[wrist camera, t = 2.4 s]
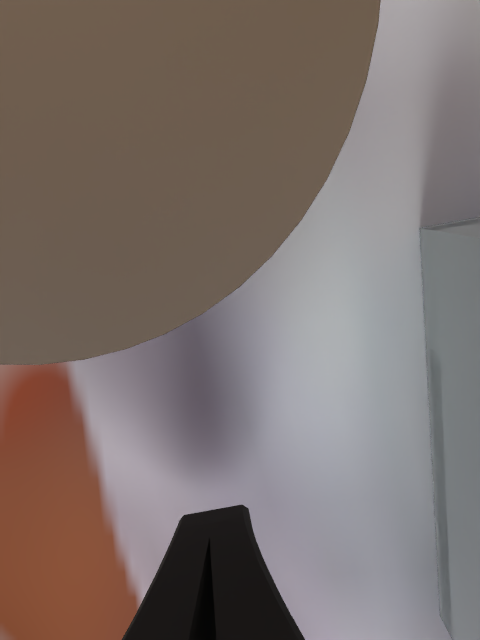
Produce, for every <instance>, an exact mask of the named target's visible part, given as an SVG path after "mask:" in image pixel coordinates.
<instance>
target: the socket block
mask: <svg viewBox="0 0 480 640" xmlns="http://www.w3.org/2000/svg"><path fill="white" fill-rule="evenodd" d="M419 229H420V248H421V266H422V285H423V304H424V323H425V342H426V361H427V380H428V399H429V418H430V437H431V456H432V475H433V494H434V513H435V531H436V550H437V569H438V588H439V607H440V617H441V619H442V621H443V622H444V624H445V626H446V628H447V630H448V632H449V634H450V636H451V638H452V640H480V217H478V218H473V219H467V220H461V221H456V222H450V223H445V224H439V225H434V226H428V227H422V228H419Z"/></svg>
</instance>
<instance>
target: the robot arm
mask: <svg viewBox="0 0 480 640" xmlns="http://www.w3.org/2000/svg"><path fill="white" fill-rule="evenodd" d="M122 640H305V639H304V637H303V635H302V633H301V632H300V630H299V628H298V626H297V625H296V623H295V621H294V619H293V618H292V616H291V614H290V612H289V610H288V608H287V607H286V605H285V603H284V601H283V599H282V597H281V595H280V593H279V591H278V589H277V587H276V585H275V583H274V581H273V579H272V577H271V575H270V572H269V570H268V568H267V566H266V564H265V562H264V559H263V557H262V555H261V552H260V549H259V547H258V544H257V542H256V539H255V536H254V533H253V529H252V524H251V519H250V514H249V509H248V508H247V507H245V506H244V505H237V506H232V507H226V508H221V509H215V510H210V511H204V512H199V513H193V514H188V515H184V516H183V517H182V518H181V520H180V521H179V523H178V526H177V528H176V531H175V533H174V536H173V538H172V540H171V543H170V545H169V547H168V549H167V552H166V554H165V556H164V558H163V560H162V563H161V565H160V567H159V569H158V571H157V573H156V575H155V577H154V579H153V581H152V583H151V585H150V587H149V589H148V591H147V593H146V595H145V597H144V599H143V601H142V603H141V605H140V607H139V609H138V611H137V613H136V615H135V617H134V619H133V621H132V622H131V624H130V626H129V628H128V630H127V631H126V633H125V635H124V637H123V638H122Z"/></svg>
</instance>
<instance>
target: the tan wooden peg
mask: <svg viewBox="0 0 480 640" xmlns="http://www.w3.org/2000/svg"><path fill="white" fill-rule="evenodd" d="M379 10H380V0H0V364H3V365H5V364H7V365H8V364H9V365H11V364H13V365H22V364H23V365H40V364H41V365H42V364H50V363H59V362H67V361H76V360H84V359H88V358H92V357H96V356H100V355H104V354H108V353H112V352H116V351H120V350H124V349H127V348H130V347H133V346H135V345H138V344H140V343H143V342H146V341H148V340H151V339H153V338H156V337H158V336H161V335H164V334H166V333H168V332H170V331H171V330H173V329H175V328H177V327H179V326H181V325H183V324H184V323H186V322H188V321H190V320H192V319H194V318H195V317H197V316H199V315H201V314H203V313H204V312H206V311H207V310H208V309H210V308H211V307H213V306H214V305H215V304H217V303H218V302H219V301H221V300H222V299H224V298H225V297H226V296H228V295H229V294H230V293H232V292H233V291H235V290H236V289H237V288H239V287H240V286H241V285H242V284H243V283H244V282H245V281H246V280H247V279H248V278H249V277H250V276H251V275H252V274H253V273H255V272H256V271H257V270H258V269H259V268H260V267H261V266H262V265H263V264H264V263H265V262H266V261H267V260H268V259H269V258H270V257H271V256H272V255H273V254H274V253H275V252H276V250H277V249H278V248H279V247H280V245H281V244H282V243H283V242H284V241H285V239H286V238H287V237H288V236H289V234H290V233H291V232H292V231H293V230H294V228H295V227H296V226H297V225H298V223H299V222H300V221H301V220H302V218H303V216H304V215H305V213H306V212H307V210H308V209H309V207H310V205H311V204H312V202H313V201H314V199H315V197H316V196H317V194H318V193H319V191H320V189H321V188H322V186H323V185H324V183H325V182H326V180H327V178H328V176H329V174H330V172H331V170H332V167H333V165H334V163H335V161H336V159H337V157H338V155H339V153H340V150H341V148H342V146H343V144H344V142H345V140H346V138H347V136H348V134H349V131H350V128H351V125H352V122H353V119H354V116H355V113H356V110H357V107H358V104H359V101H360V98H361V95H362V92H363V89H364V86H365V83H366V79H367V75H368V70H369V65H370V61H371V56H372V51H373V46H374V42H375V37H376V32H377V27H378V20H379Z"/></svg>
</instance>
